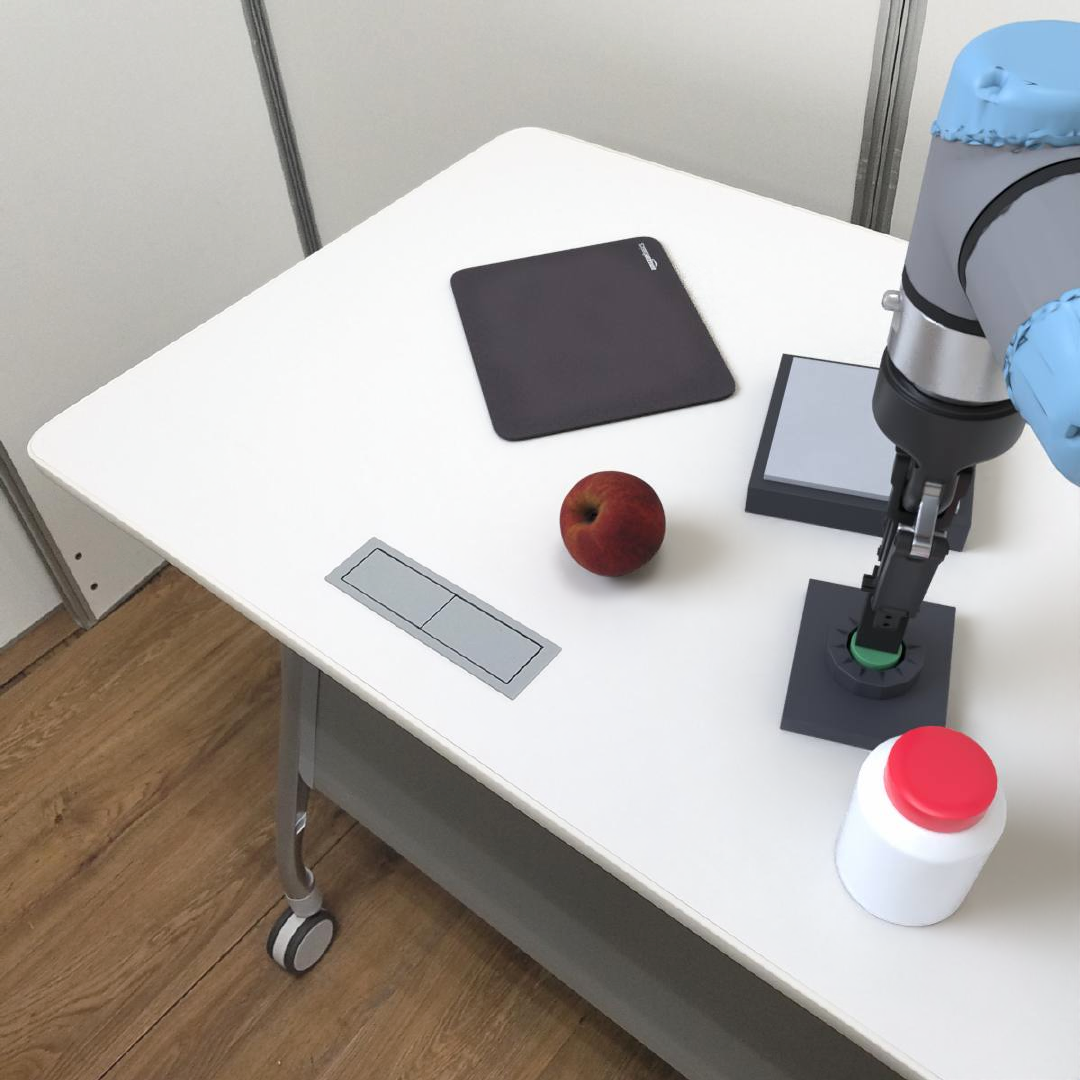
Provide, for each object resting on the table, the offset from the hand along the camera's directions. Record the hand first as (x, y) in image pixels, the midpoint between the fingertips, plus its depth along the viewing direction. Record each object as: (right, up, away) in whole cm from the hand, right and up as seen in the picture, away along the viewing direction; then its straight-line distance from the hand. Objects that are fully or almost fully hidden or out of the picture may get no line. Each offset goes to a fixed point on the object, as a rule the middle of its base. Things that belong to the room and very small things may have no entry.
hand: (877, 640), depth 71 cm
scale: (+4, +13, +16) cm, 21 cm away
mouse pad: (-18, +26, +28) cm, 42 cm away
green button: (0, -1, +1) cm, 2 cm away
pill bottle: (-1, -13, -6) cm, 14 cm away
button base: (0, -2, +3) cm, 4 cm away
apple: (-17, +5, +11) cm, 20 cm away
